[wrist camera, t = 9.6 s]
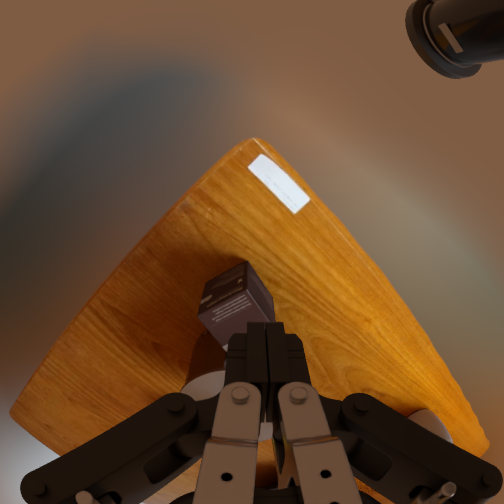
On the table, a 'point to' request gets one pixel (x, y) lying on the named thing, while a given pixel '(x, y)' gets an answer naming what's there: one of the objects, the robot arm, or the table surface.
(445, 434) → the mug
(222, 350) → the pot
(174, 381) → the table surface
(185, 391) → the pot lid
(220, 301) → the box
